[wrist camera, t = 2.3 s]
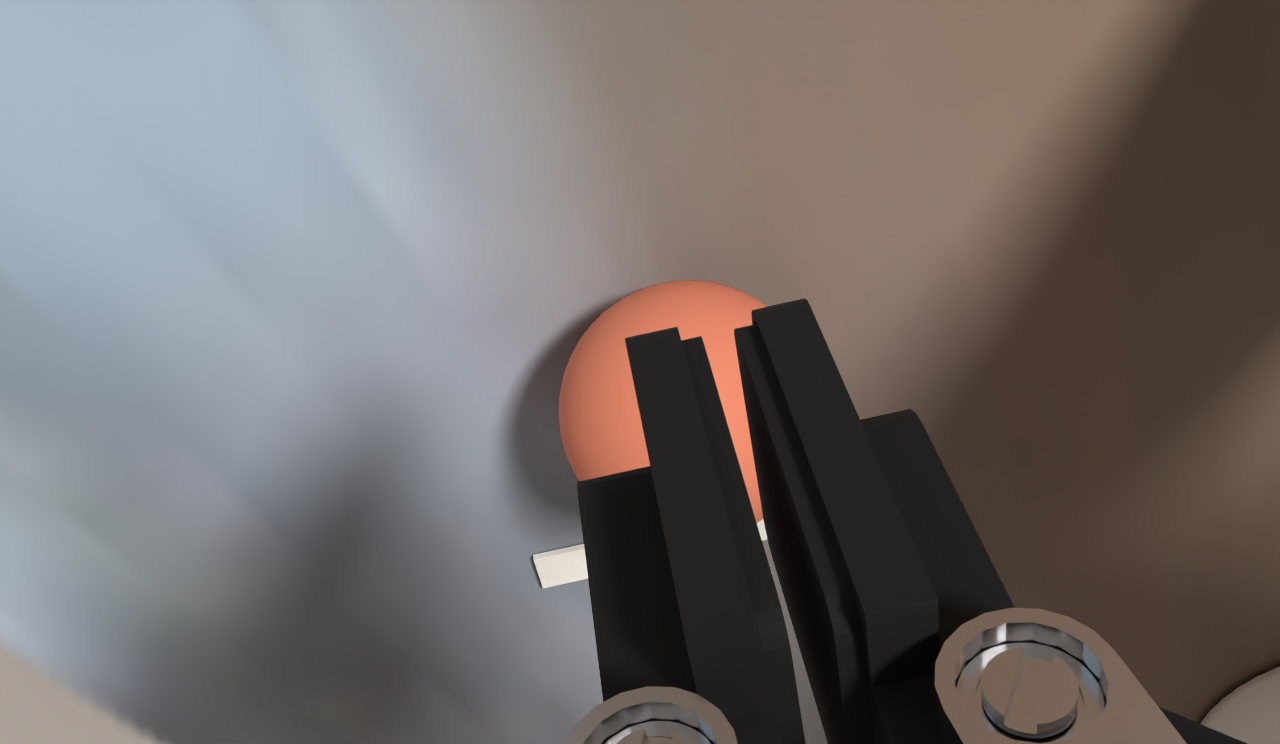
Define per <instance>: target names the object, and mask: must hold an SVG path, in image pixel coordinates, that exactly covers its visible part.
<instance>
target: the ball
mask: <svg viewBox="0 0 1280 744" xmlns="http://www.w3.org/2000/svg"><path fill="white" fill-rule="evenodd" d="M764 307H767V306H765V305H764V304H763V303H761V302H760V301H758V300H757V299H756V298H754V297H752V296H750V295H748V294H746V293H744V292H742V291H739V290H736V289H733V288H731V287H728V286H725V285H721V284H717V283H712V282H706V281H696V280H693V281H674V282H666V283H662V284H658V285H654V286H650V287H647V288H645V289H642V290H639V291H637V292H635V293H632V294H630V295H628V296H626V297H624V298H623V299H621V300H620V301H618V302H617V303H615V304H613V305H612V306H611V307H609V308H608V309H607V310H606V311H605V312H603V313H602V314H601V315H600V316H599V317H598V318H597V319H596V320H595V321H594V322H593V323H592V325H591V326H590V327H589V328H588V329H587V330H586V332H585V333H584V334H583V336H582V337H581V338H580V340H579V341H578V343H577V345H576V347H575V349H574V351H573V353H572V355H571V357H570V359H569V361H568V364H567V366H566V369H565V372H564V375H563V380H562V385H561V390H560V395H559V425H560V433H561V438H562V442H563V446H564V449H565V452H566V456H567V458H568V461H569V463H570V465H571V467H572V469H573V471H574V473H575V475H576V477H577V479H578V480H579V481H584V480H588V479H593V478H598V477H602V476H607V475H611V474H616V473H620V472H625V471H629V470H634V469H639V468H643V467H648V466H650V462H649V457H648V452H647V447H646V442H645V437H644V432H643V427H642V422H641V417H640V412H639V407H638V402H637V397H636V392H635V387H634V382H633V377H632V372H631V367H630V362H629V358H628V353H627V348H626V342H625V338H627V337H632V336H636V335H641V334H646V333H650V332H655V331H659V330H664V329H668V328H673V327H678V330H679V334H680V337H681V340H686V339H690V338H695V337H699V336H701V337H702V339H703V342H704V345H705V349H706V352H707V356H708V359H709V363H710V366H711V369H712V373H713V376H714V380H715V383H716V386H717V390H718V393H719V397H720V400H721V403H722V407H723V410H724V414H725V417H726V421H727V424H728V427H729V431H730V434H731V438H732V441H733V444H734V448H735V451H736V455H737V458H738V461H739V465H740V468H741V472H742V475H743V478H744V482H745V485H746V489H747V492H748V496H749V499H750V502H751V506H752V509H753V513H754V516H755V519H756V523H758V522H759V521H761V520H762V519H763V514H762V507H761V501H760V495H759V488H758V482H757V476H756V470H755V463H754V457H753V451H752V444H751V438H750V432H749V426H748V419H747V413H746V407H745V401H744V394H743V388H742V382H741V375H740V369H739V363H738V357H737V350H736V344H735V337H734V329H736V328H740V327H745V326H749V325H752V315H751V312H752V310H755V309H759V308H764Z"/></svg>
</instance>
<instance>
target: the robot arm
mask: <svg viewBox="0 0 1280 744" xmlns="http://www.w3.org/2000/svg"><path fill="white" fill-rule="evenodd" d="M751 315H752V325H749V326H745V327H740V328H736V329H734V337H735V344H736V350H737V357H738V363H739V369H740V375H741V382H742V388H743V394H744V401H745V407H746V413H747V419H748V426H749V432H750V438H751V444H752V451H753V457H754V463H755V470H756V476H757V482H758V488H759V495H760V501H761V507H762V514H763V519H764V525H765V530H766V534H767V538H768V543H769V547H770V550H771V554H772V557H773V561H774V564H775V567H776V571H777V574H778V577H779V581H780V584H781V587H782V591H783V594H784V597H785V601H786V604H787V607H788V611H789V614H790V618H791V621H792V624H793V628H794V631H795V634H796V638H797V641H798V644H799V648H800V651H801V654H802V658H803V661H804V664H805V668H806V671H807V674H808V678H809V681H810V684H811V688H812V691H813V694H814V698H815V701H816V705H817V708H818V711H819V715H820V718H821V721H822V725H823V728H824V731H825V735H826V738H827V741H828V744H1247V743H1245V742H1243V741H1240V740H1238V739H1235V738H1233V737H1230V736H1228V735H1226V734H1223V733H1221V732H1218V731H1216V730H1214V729H1211V728H1209V727H1206V726H1204V725H1202V724H1199V723H1197V722H1194V721H1192V720H1189V719H1187V718H1185V717H1182V716H1180V715H1177V714H1175V713H1173V712H1170V711H1168V710H1165V709H1163V708H1160V707H1158V706H1157V704H1156V703H1155V702H1154V700H1153V699H1152V698H1151V697H1150V695H1149V694H1148V693H1147V691H1146V690H1145V689H1144V688H1143V686H1142V685H1141V684H1140V682H1139V681H1138V680H1137V678H1136V677H1135V676H1134V675H1133V673H1132V672H1131V671H1130V669H1129V668H1128V667H1127V665H1126V664H1125V663H1124V662H1123V660H1122V659H1121V658H1120V656H1119V655H1118V654H1117V653H1116V651H1115V650H1114V649H1113V648H1112V647H1111V646H1110V645H1109V644H1108V643H1107V642H1106V641H1105V640H1104V639H1103V638H1102V637H1101V636H1099V635H1098V634H1097V633H1096V632H1095V631H1094V630H1092V629H1090V628H1089V627H1087V626H1085V625H1083V624H1081V623H1080V622H1078V621H1076V620H1074V619H1072V618H1071V617H1068V616H1065V615H1061V614H1057V613H1054V612H1050V611H1047V610H1043V609H1033V608H1015V607H1014V605H1013V603H1012V601H1011V599H1010V598H1009V596H1008V594H1007V592H1006V590H1005V588H1004V586H1003V584H1002V582H1001V580H1000V578H999V576H998V574H997V572H996V570H995V568H994V566H993V564H992V562H991V560H990V558H989V556H988V554H987V552H986V550H985V548H984V546H983V544H982V542H981V540H980V538H979V536H978V534H977V532H976V530H975V528H974V526H973V524H972V522H971V520H970V518H969V516H968V514H967V512H966V510H965V508H964V506H963V504H962V502H961V500H960V498H959V496H958V494H957V492H956V490H955V488H954V486H953V484H952V482H951V480H950V478H949V476H948V474H947V472H946V470H945V468H944V466H943V464H942V462H941V460H940V458H939V456H938V454H937V452H936V450H935V448H934V446H933V444H932V442H931V440H930V438H929V436H928V434H927V432H926V430H925V428H924V426H923V424H922V423H921V421H920V419H919V418H918V416H917V414H916V413H915V412H914V411H912V410H911V409H908V410H904V411H899V412H894V413H890V414H885V415H881V416H876V417H872V418H867V419H862V420H860V419H859V417H858V414H857V412H856V410H855V408H854V405H853V403H852V401H851V398H850V396H849V394H848V392H847V389H846V387H845V385H844V382H843V380H842V378H841V376H840V373H839V371H838V369H837V366H836V364H835V362H834V360H833V357H832V355H831V353H830V350H829V348H828V346H827V344H826V341H825V339H824V337H823V334H822V332H821V330H820V328H819V325H818V323H817V321H816V318H815V316H814V314H813V312H812V309H811V307H810V305H809V303H808V301H807V300H806V299H800V300H796V301H791V302H787V303H782V304H778V305H773V306H769V307H764V308H759V309H755V310H752V312H751ZM625 342H626V348H627V353H628V358H629V362H630V367H631V372H632V377H633V382H634V387H635V392H636V397H637V402H638V407H639V412H640V417H641V422H642V427H643V432H644V437H645V442H646V447H647V452H648V457H649V462H650V466H648V467H643V468H639V469H634V470H629V471H625V472H620V473H616V474H611V475H607V476H602V477H598V478H593V479H588V480H584V481H579V482H578V487H577V488H578V499H579V507H580V515H581V523H582V531H583V540H584V548H585V556H586V564H587V572H588V580H589V588H590V596H591V604H592V613H593V621H594V629H595V637H596V645H597V653H598V661H599V669H600V677H601V686H602V694H603V703H601V704H599V705H597V706H596V707H595V708H594V709H592V710H591V711H590V712H589V713H588V714H587V715H586V716H585V717H584V718H583V719H582V720H580V721H579V722H578V723H577V724H576V726H575V728H574V729H573V731H572V732H571V734H570V736H569V737H568V739H567V741H566V742H565V744H805V739H804V733H803V726H802V720H801V713H800V707H799V700H798V694H797V687H796V681H795V674H794V668H793V661H792V655H791V649H790V644H789V639H788V634H787V630H786V625H785V621H784V617H783V613H782V609H781V605H780V602H779V598H778V594H777V591H776V588H775V584H774V581H773V577H772V574H771V571H770V567H769V564H768V560H767V557H766V553H765V550H764V547H763V543H762V540H761V536H760V533H759V530H758V526H757V523H756V519H755V516H754V513H753V509H752V506H751V502H750V499H749V496H748V492H747V489H746V485H745V482H744V478H743V475H742V472H741V468H740V465H739V461H738V458H737V455H736V451H735V448H734V444H733V441H732V438H731V434H730V431H729V427H728V424H727V421H726V417H725V414H724V410H723V407H722V403H721V400H720V397H719V393H718V390H717V386H716V383H715V380H714V376H713V373H712V369H711V366H710V363H709V359H708V356H707V352H706V349H705V345H704V342H703V339H702V337H701V336H699V337H695V338H690V339H686V340H681V337H680V334H679V330H678V327H673V328H668V329H664V330H659V331H655V332H650V333H646V334H641V335H636V336H632V337H627V338H625Z"/></svg>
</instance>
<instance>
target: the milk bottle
mask: <svg viewBox="0 0 1280 744" xmlns="http://www.w3.org/2000/svg"><path fill="white" fill-rule="evenodd" d="M1200 724H1202V725H1204V726H1206V727H1209V728H1211V729H1214V730H1216V731H1218V732H1221V733H1223V734H1226V735H1228V736H1230V737H1233V738H1235V739H1238V740H1240V741H1243V742H1245V743H1247V744H1280V667H1277V668H1275V669H1273V670H1270V671H1268V672H1266V673H1264V674H1261V675H1259V676H1257V677H1255V678H1253V679H1252V680H1250V681H1248V682H1247V683H1245V684H1243V685H1241V686H1239V687H1238V688H1236V689H1235V690H1234V691H1233V692H1231V693H1230V694H1228V695H1227V696H1226V697H1224V698H1223V699H1222V700H1221V701H1220V702H1219V703H1218V704H1217V705H1216V706H1215V707H1213V708H1212V709H1211V710H1210V711H1209V712H1208V714H1207V715H1206V716H1205V718H1204V719H1203V720H1202V721H1201V723H1200Z"/></svg>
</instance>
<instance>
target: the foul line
mask: <svg viewBox="0 0 1280 744" xmlns="http://www.w3.org/2000/svg"><path fill="white" fill-rule="evenodd" d="M757 526H758V530H759V533H760V536H761V540H767V539H768V538H767V534H766V530H765V525H764V519H762V520H761V521H759V522H758V523H757ZM533 559H534V563H535V566H536V569H537V572H538V575H539V578H540V581H541V584H542V586H543V588H547V587H551V586H556V585H560V584H565V583H570V582H574V581H579V580H583V579H588V572H587V564H586V556H585V548H584V544H580V545H576V546H571V547H567V548H562V549H557V550H553V551H548V552H544V553H539V554H535V555H533Z"/></svg>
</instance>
